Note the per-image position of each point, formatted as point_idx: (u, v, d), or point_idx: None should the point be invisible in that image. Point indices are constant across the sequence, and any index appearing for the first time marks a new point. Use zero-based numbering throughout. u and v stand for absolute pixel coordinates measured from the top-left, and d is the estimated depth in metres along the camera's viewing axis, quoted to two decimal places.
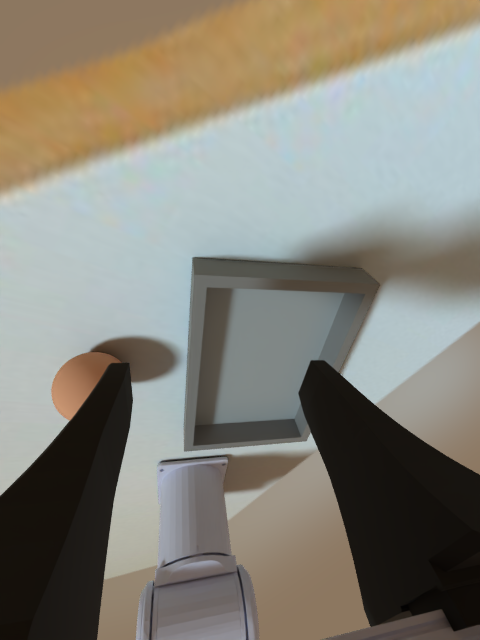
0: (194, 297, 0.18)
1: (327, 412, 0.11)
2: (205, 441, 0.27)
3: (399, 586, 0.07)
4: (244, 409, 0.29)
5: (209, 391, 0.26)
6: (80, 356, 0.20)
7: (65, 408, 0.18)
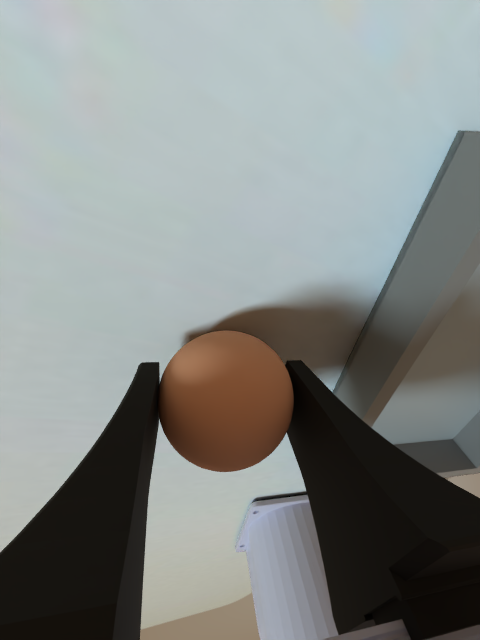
0: None
1: (301, 414, 0.10)
2: None
3: (363, 594, 0.07)
4: (397, 427, 0.19)
5: None
6: (212, 336, 0.10)
7: (202, 445, 0.09)
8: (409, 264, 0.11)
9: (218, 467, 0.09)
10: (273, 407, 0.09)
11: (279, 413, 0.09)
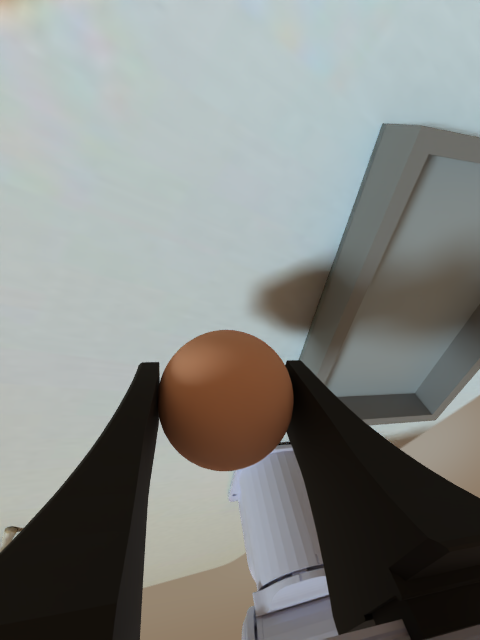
0: (404, 172, 0.11)
1: (301, 414, 0.10)
2: None
3: (363, 594, 0.07)
4: (364, 378, 0.22)
5: None
6: (212, 336, 0.10)
7: (201, 444, 0.09)
8: (354, 226, 0.14)
9: (218, 466, 0.09)
10: (273, 406, 0.09)
11: (279, 413, 0.09)
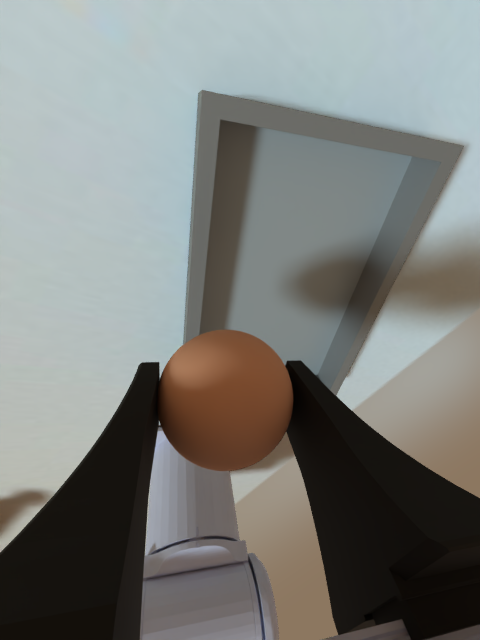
0: (201, 137, 0.12)
1: (301, 414, 0.10)
2: None
3: (364, 594, 0.07)
4: None
5: (215, 326, 0.20)
6: (212, 335, 0.10)
7: (200, 444, 0.09)
8: (192, 197, 0.15)
9: (217, 466, 0.09)
10: (272, 406, 0.09)
11: (279, 412, 0.09)
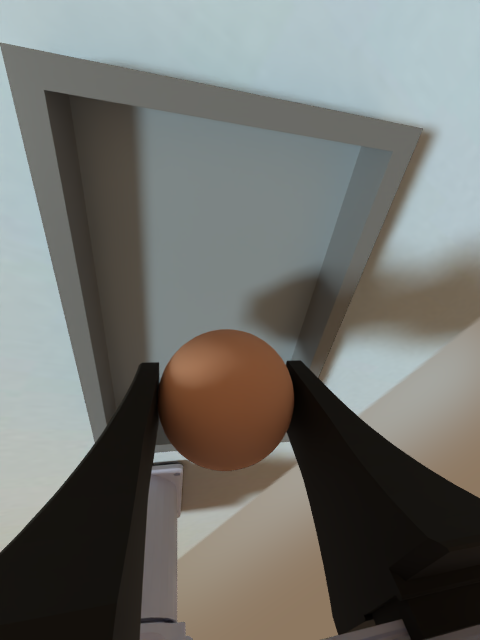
0: (21, 118, 0.08)
1: (301, 414, 0.10)
2: None
3: (363, 594, 0.07)
4: None
5: (134, 361, 0.16)
6: (212, 335, 0.10)
7: (202, 444, 0.08)
8: None
9: (218, 466, 0.09)
10: (273, 406, 0.09)
11: (280, 412, 0.09)
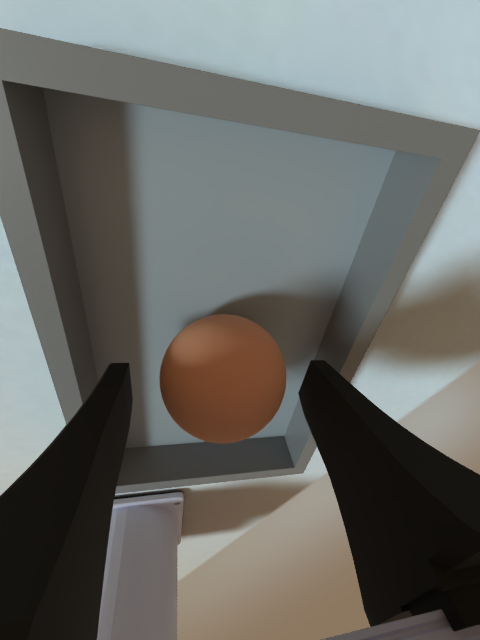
0: None
1: (327, 412, 0.11)
2: (127, 479, 0.16)
3: (400, 586, 0.07)
4: None
5: None
6: (210, 318, 0.11)
7: (201, 415, 0.09)
8: None
9: (216, 437, 0.10)
10: (267, 381, 0.10)
11: (273, 387, 0.10)
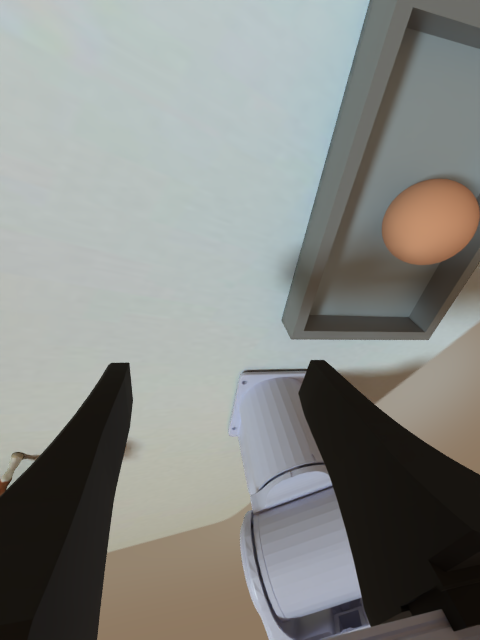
0: (390, 27, 0.12)
1: (327, 412, 0.11)
2: (316, 328, 0.22)
3: (399, 586, 0.07)
4: (359, 294, 0.23)
5: (328, 257, 0.21)
6: (427, 180, 0.17)
7: (444, 225, 0.15)
8: (346, 106, 0.15)
9: (447, 244, 0.16)
10: (478, 207, 0.16)
11: (479, 213, 0.16)
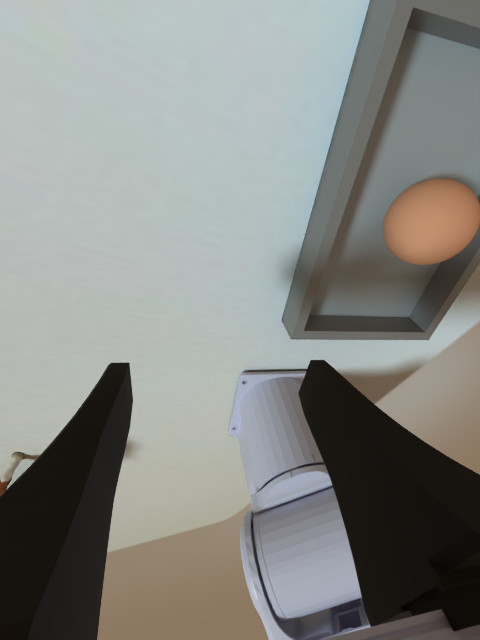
0: (391, 27, 0.12)
1: (327, 412, 0.11)
2: (316, 328, 0.22)
3: (399, 586, 0.07)
4: (359, 294, 0.23)
5: (328, 257, 0.21)
6: None
7: (447, 224, 0.15)
8: (346, 106, 0.15)
9: (449, 243, 0.16)
10: (479, 206, 0.16)
11: None
